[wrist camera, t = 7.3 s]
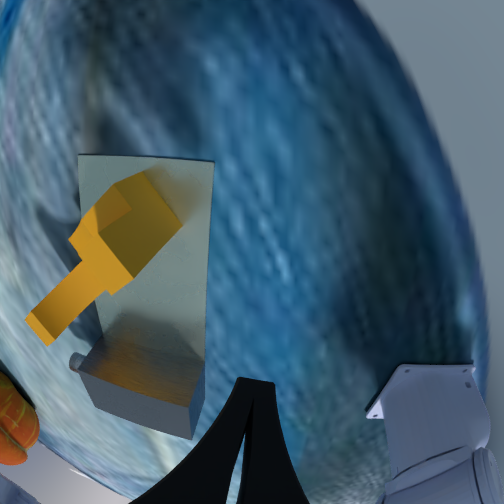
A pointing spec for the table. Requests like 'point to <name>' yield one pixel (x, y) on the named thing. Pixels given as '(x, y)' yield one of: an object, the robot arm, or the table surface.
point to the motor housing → (154, 303)
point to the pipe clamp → (107, 251)
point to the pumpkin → (15, 424)
